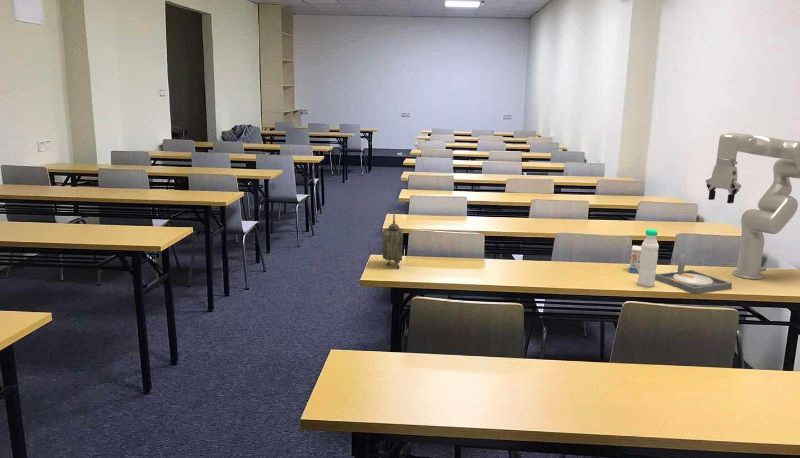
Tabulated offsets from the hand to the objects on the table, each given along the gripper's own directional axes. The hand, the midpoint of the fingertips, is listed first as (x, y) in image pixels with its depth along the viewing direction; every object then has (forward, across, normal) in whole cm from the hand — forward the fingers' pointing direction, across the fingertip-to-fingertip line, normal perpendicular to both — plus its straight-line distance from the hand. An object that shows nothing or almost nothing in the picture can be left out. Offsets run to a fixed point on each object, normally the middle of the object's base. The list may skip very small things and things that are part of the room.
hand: (720, 201), depth 268 cm
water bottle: (+37, +5, +33) cm, 50 cm away
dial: (+35, -1, +12) cm, 37 cm away
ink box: (+37, +23, +20) cm, 48 cm away
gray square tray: (+37, -1, +12) cm, 39 cm away
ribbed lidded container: (+37, +70, +128) cm, 151 cm away
